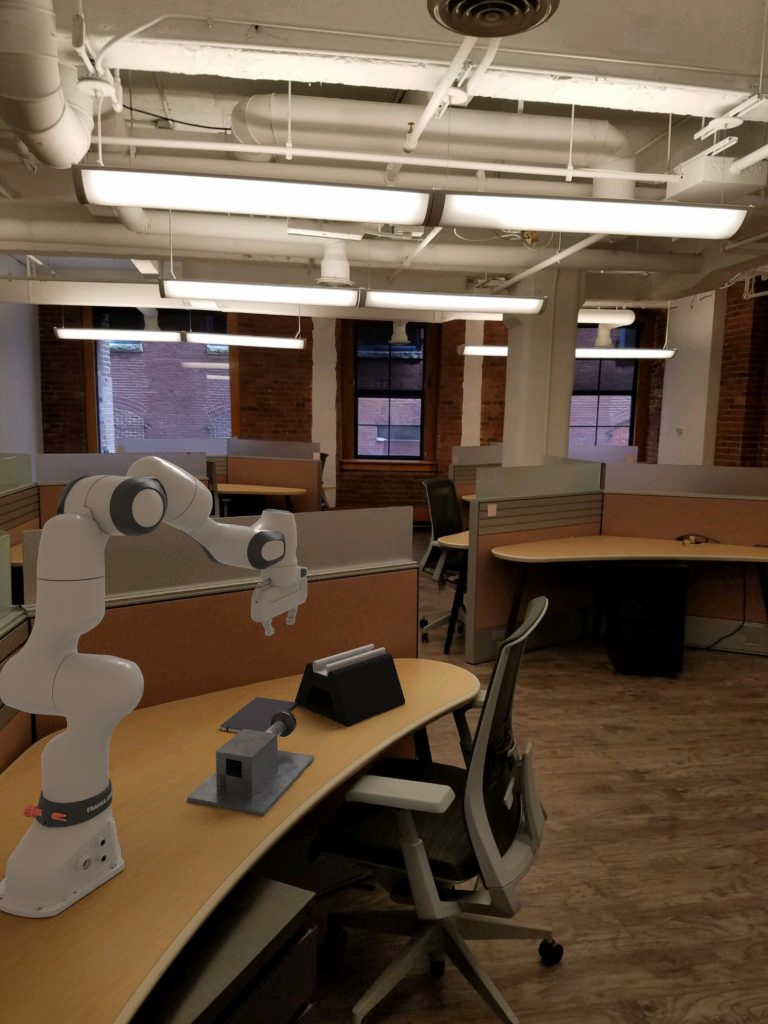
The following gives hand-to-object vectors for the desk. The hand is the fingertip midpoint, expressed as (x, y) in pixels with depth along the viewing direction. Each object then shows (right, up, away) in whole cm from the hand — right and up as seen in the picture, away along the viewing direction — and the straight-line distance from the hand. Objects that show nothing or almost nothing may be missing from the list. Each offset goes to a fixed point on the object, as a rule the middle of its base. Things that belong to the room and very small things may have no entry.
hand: (280, 629), depth 174 cm
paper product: (-9, -28, +20) cm, 35 cm away
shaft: (-2, -27, -9) cm, 28 cm away
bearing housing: (-4, -32, -14) cm, 35 cm away
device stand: (+16, -27, +30) cm, 43 cm away
